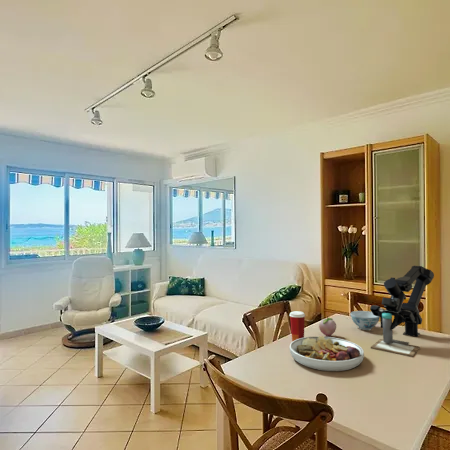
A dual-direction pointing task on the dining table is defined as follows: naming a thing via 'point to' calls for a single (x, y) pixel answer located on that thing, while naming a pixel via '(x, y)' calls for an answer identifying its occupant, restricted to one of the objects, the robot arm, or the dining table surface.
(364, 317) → the chinaware
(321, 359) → the bowl
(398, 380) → the dining table surface
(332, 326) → the decorative fruit
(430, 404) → the dining table surface
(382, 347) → the clipboard
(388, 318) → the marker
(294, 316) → the paper cup
